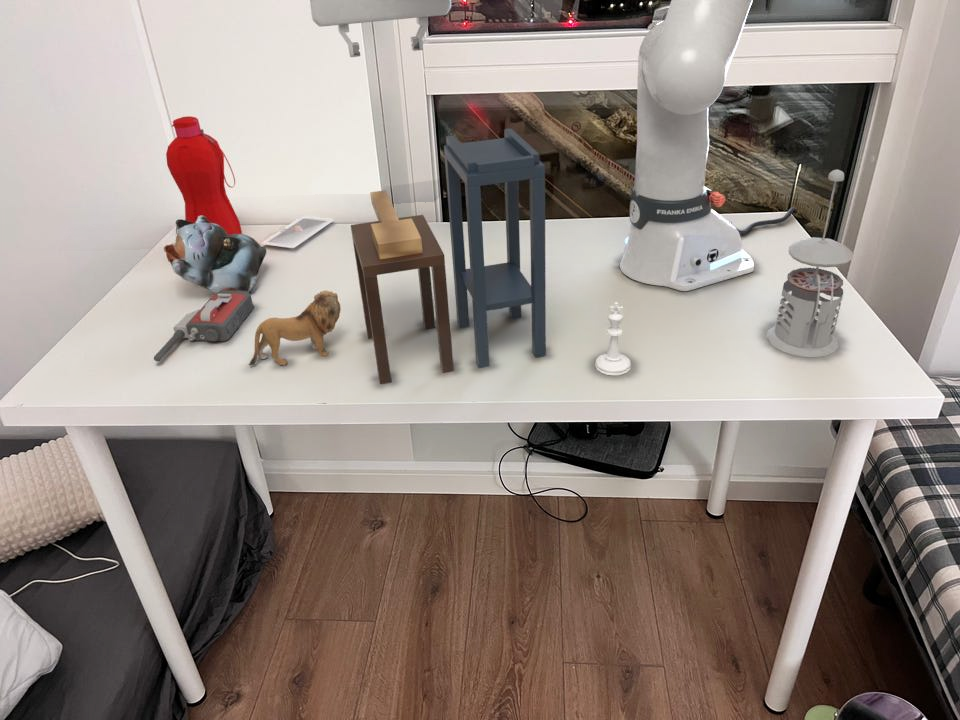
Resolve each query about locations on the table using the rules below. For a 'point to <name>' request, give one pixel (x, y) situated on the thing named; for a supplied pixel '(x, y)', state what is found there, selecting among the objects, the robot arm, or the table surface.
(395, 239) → the crossed tan timber pieces
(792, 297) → the french press
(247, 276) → the lucky cat figurine
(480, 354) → the tall stand
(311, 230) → the touchpad
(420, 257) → the low stand
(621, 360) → the chess piece
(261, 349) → the lion figurine
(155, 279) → the table surface
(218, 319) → the walkie-talkie
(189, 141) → the water bottle
